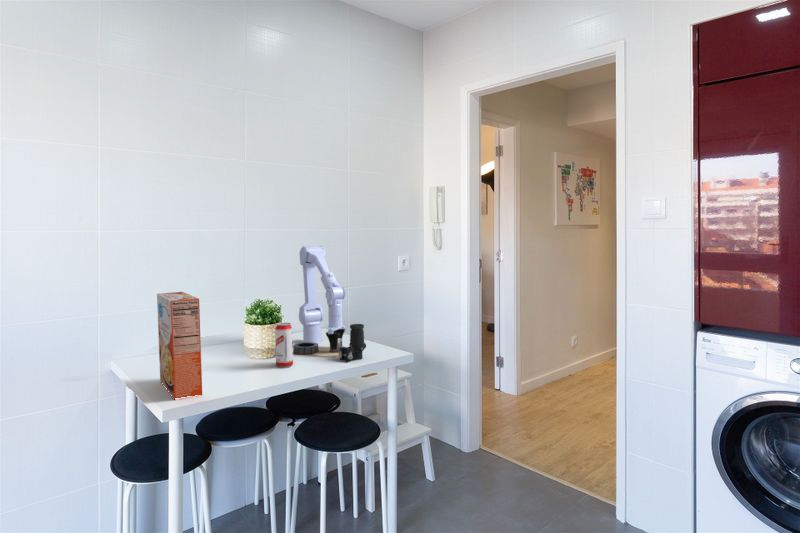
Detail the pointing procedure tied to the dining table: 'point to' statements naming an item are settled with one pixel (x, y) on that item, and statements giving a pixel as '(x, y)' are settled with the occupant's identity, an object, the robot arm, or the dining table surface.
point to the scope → (353, 344)
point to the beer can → (284, 345)
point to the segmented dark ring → (305, 348)
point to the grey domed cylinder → (337, 347)
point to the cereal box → (179, 343)
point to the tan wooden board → (322, 353)
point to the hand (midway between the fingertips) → (335, 347)
